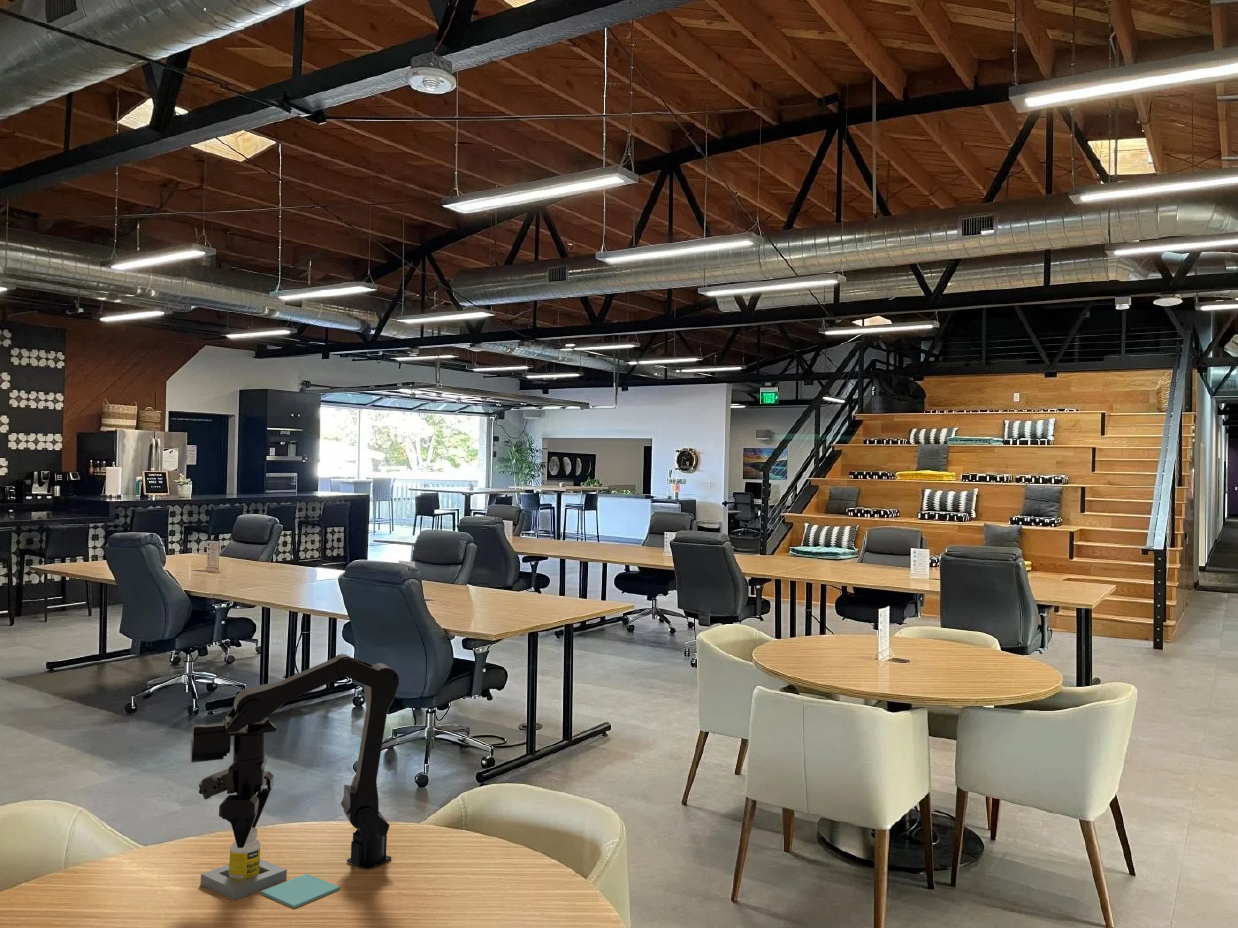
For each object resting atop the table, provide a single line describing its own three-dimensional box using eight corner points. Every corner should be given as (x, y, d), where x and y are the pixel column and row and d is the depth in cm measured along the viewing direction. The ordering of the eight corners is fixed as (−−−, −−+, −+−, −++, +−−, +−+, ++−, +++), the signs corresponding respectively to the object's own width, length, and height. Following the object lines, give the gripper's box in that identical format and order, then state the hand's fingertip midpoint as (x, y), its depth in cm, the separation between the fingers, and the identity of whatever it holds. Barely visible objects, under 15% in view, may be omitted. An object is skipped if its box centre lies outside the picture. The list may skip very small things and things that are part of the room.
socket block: (252, 865, 179) (253, 855, 179) (286, 879, 172) (286, 869, 172) (200, 884, 169) (200, 873, 170) (234, 900, 163) (234, 888, 163)
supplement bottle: (247, 889, 168) (249, 836, 168) (222, 886, 169) (224, 834, 169) (264, 878, 173) (266, 826, 173) (239, 875, 174) (241, 824, 175)
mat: (306, 875, 174) (306, 873, 174) (339, 889, 169) (339, 886, 169) (261, 893, 166) (261, 890, 166) (294, 908, 160) (294, 905, 160)
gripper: (217, 744, 180) (214, 823, 179) (190, 772, 161) (187, 859, 161) (275, 742, 182) (272, 820, 181) (255, 769, 163) (252, 856, 163)
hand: (246, 838), depth 171 cm, fingers open, 9 cm apart
